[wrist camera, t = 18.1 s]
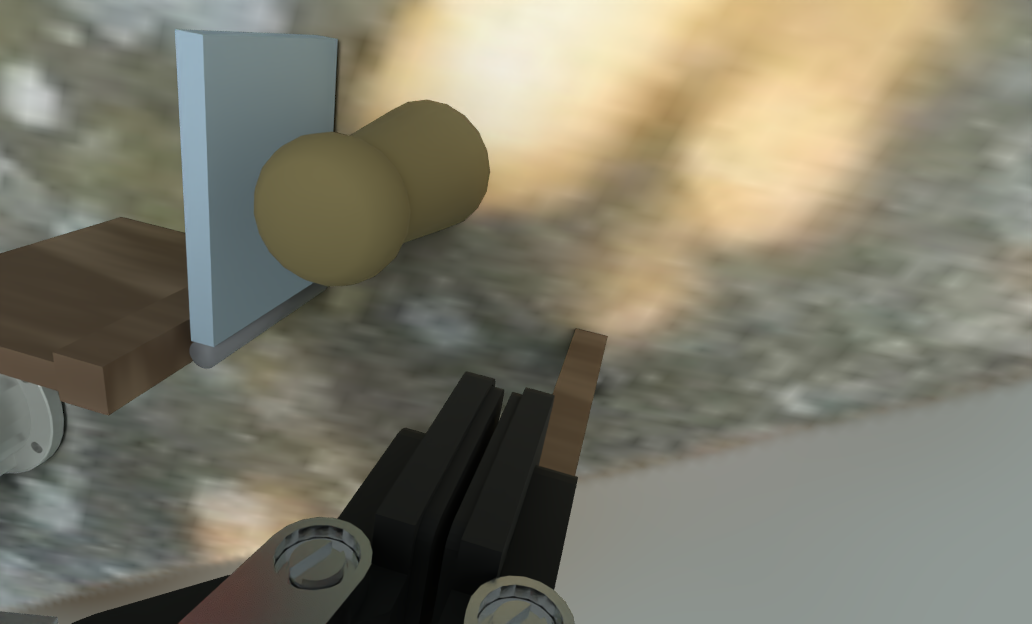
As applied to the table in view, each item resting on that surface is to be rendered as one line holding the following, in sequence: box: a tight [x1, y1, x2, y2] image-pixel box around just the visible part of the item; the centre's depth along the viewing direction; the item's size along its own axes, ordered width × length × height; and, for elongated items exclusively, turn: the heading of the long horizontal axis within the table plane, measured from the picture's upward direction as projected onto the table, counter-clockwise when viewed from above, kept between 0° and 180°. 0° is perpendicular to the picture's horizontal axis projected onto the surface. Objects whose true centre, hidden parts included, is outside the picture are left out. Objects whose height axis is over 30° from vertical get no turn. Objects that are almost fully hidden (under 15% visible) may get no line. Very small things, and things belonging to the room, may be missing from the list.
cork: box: [254, 100, 490, 286], centre depth 25 cm, size 6×6×11 cm
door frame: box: [0, 217, 608, 476], centre depth 28 cm, size 2×27×13 cm, turn 80°
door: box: [175, 29, 338, 369], centre depth 27 cm, size 1×12×9 cm, turn 171°
